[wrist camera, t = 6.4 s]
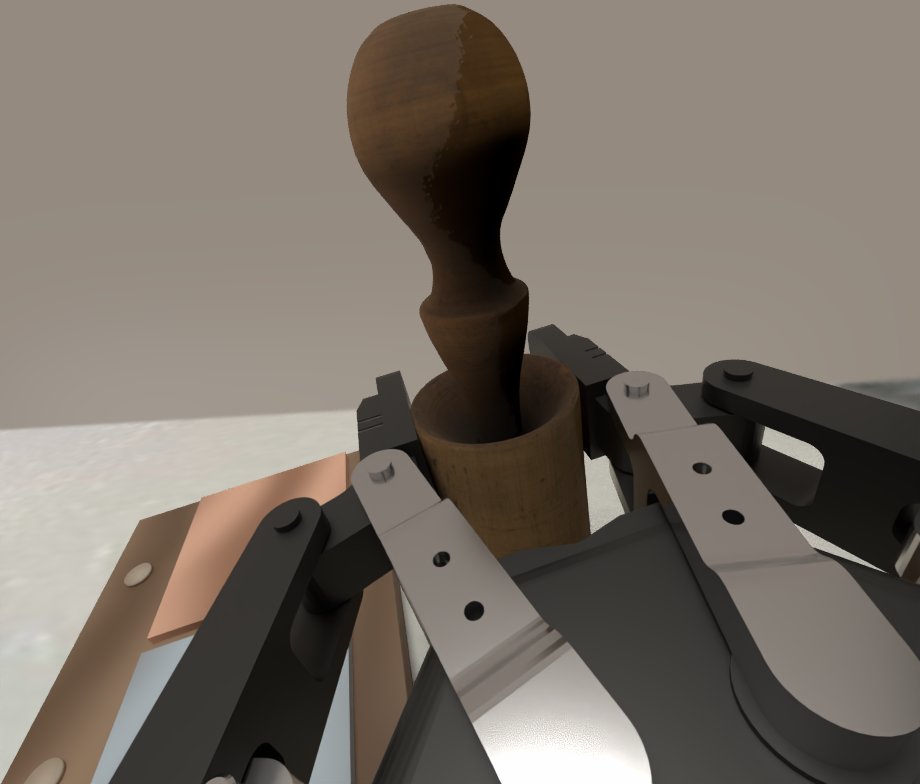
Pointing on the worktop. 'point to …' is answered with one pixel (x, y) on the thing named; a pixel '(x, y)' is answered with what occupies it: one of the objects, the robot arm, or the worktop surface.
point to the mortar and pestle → (471, 273)
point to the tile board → (176, 622)
